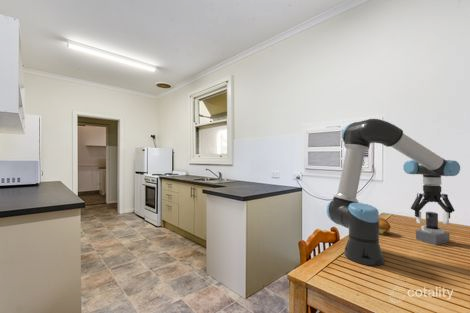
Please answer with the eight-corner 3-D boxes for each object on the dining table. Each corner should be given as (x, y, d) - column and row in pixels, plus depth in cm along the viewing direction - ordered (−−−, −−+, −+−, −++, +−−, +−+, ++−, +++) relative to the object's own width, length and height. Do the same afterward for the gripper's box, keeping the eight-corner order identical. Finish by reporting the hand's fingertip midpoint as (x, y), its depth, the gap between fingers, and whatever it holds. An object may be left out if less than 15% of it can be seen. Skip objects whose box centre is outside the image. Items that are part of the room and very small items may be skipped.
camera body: (435, 245, 114) (435, 231, 114) (416, 239, 122) (415, 226, 122) (449, 241, 119) (449, 228, 119) (429, 236, 127) (429, 224, 127)
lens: (441, 233, 117) (440, 213, 118) (430, 232, 118) (430, 213, 118) (433, 230, 123) (433, 211, 123) (423, 229, 123) (422, 211, 124)
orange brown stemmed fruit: (383, 229, 139) (385, 215, 136) (393, 239, 128) (396, 224, 126) (366, 228, 140) (368, 214, 137) (375, 238, 129) (377, 223, 127)
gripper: (451, 184, 123) (451, 222, 123) (403, 183, 126) (403, 220, 126) (463, 186, 116) (464, 226, 115) (411, 185, 119) (412, 224, 118)
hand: (432, 223), depth 120 cm, fingers open, 13 cm apart
